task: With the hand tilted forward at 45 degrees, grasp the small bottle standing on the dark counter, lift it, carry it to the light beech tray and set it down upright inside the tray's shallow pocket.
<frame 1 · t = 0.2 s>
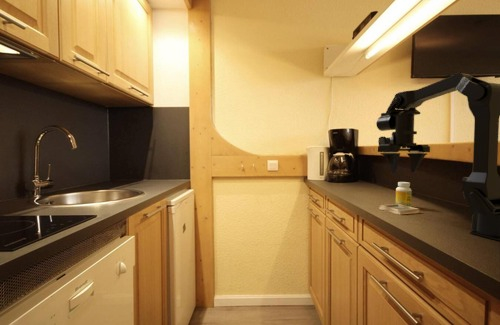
hand: (403, 172, 94), 14 cm above the worktop, tool pointing down, fingers open, 9 cm apart
supplement bottle: (403, 207, 104), on the worktop
tray: (398, 210, 96), on the worktop
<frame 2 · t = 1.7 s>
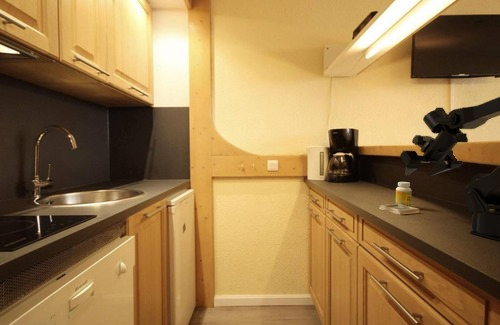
hand: (418, 174, 95), 13 cm above the worktop, tool tilted 45°, fingers open, 9 cm apart
nothing on the worktop moved.
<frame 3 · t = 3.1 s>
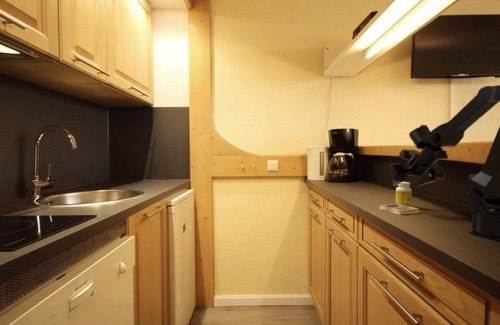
hand: (405, 185, 102), 8 cm above the worktop, tool tilted 45°, fingers open, 9 cm apart
nothing on the worktop moved.
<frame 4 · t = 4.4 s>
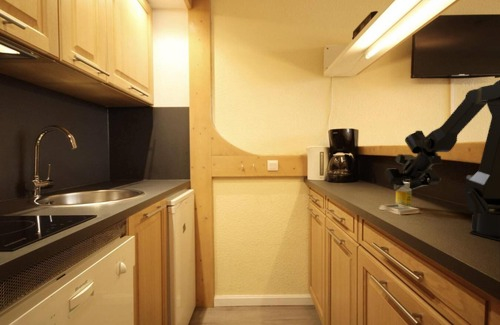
hand: (401, 189, 105), 7 cm above the worktop, tool tilted 45°, fingers closed on supplement bottle, 5 cm apart
supplement bottle: (403, 207, 104), on the worktop, touching gripper
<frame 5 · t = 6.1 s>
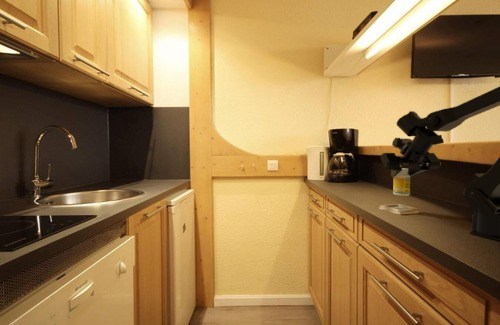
hand: (399, 176, 98), 12 cm above the worktop, tool tilted 45°, fingers closed on supplement bottle, 5 cm apart
supplement bottle: (401, 195, 97), point 6 cm above the worktop, touching gripper
when the fingers open (8 cm above the worktop, at t = 7.7 s): supplement bottle stays where it is, resting on tray.
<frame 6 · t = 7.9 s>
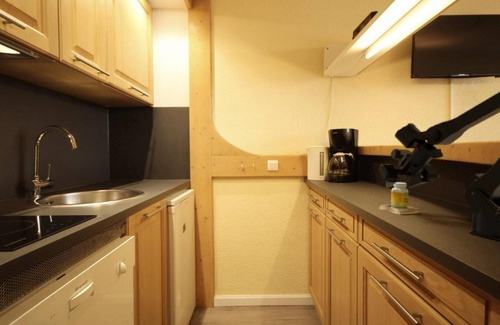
hand: (397, 187, 97), 9 cm above the worktop, tool tilted 45°, fingers open, 8 cm apart
supplement bottle: (399, 209, 96), point 1 cm above the worktop, touching tray
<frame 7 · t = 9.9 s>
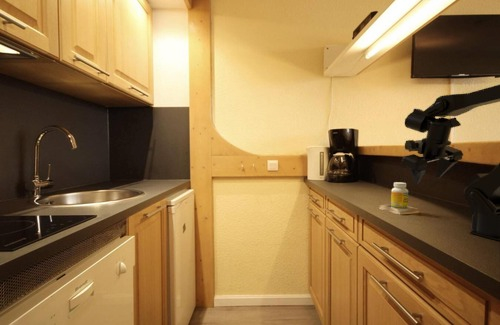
hand: (426, 180, 88), 12 cm above the worktop, tool tilted 25°, fingers open, 9 cm apart
nothing on the worktop moved.
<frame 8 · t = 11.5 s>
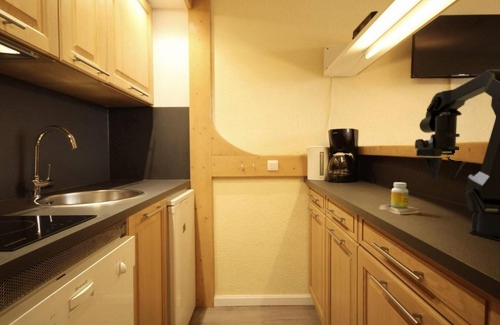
hand: (443, 178, 87), 13 cm above the worktop, tool pointing down, fingers open, 9 cm apart
nothing on the worktop moved.
at the end: supplement bottle 0.2 cm off-centre on the tray, point 0.5 cm above the tray's base; supplement bottle tilted 0°; the gripper is holding nothing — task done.
